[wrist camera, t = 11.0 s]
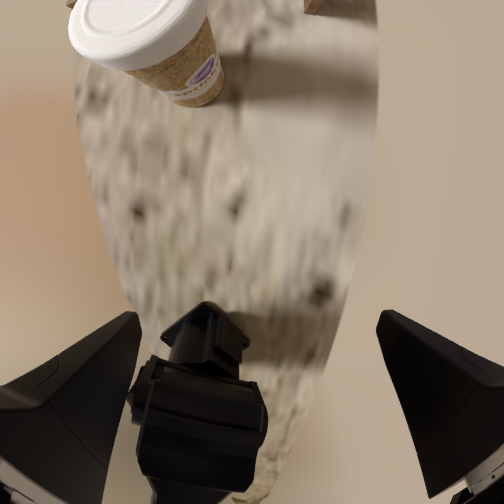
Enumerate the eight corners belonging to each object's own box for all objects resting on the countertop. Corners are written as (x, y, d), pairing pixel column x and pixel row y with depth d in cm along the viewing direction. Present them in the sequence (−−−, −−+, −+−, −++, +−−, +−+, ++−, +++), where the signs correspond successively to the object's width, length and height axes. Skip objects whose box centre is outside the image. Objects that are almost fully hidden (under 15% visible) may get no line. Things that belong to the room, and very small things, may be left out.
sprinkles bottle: (209, 116, 18) (154, 71, 6) (155, 98, 17) (42, 54, 5) (235, 63, 16) (228, -44, 4) (180, 47, 16) (108, -50, 3)
